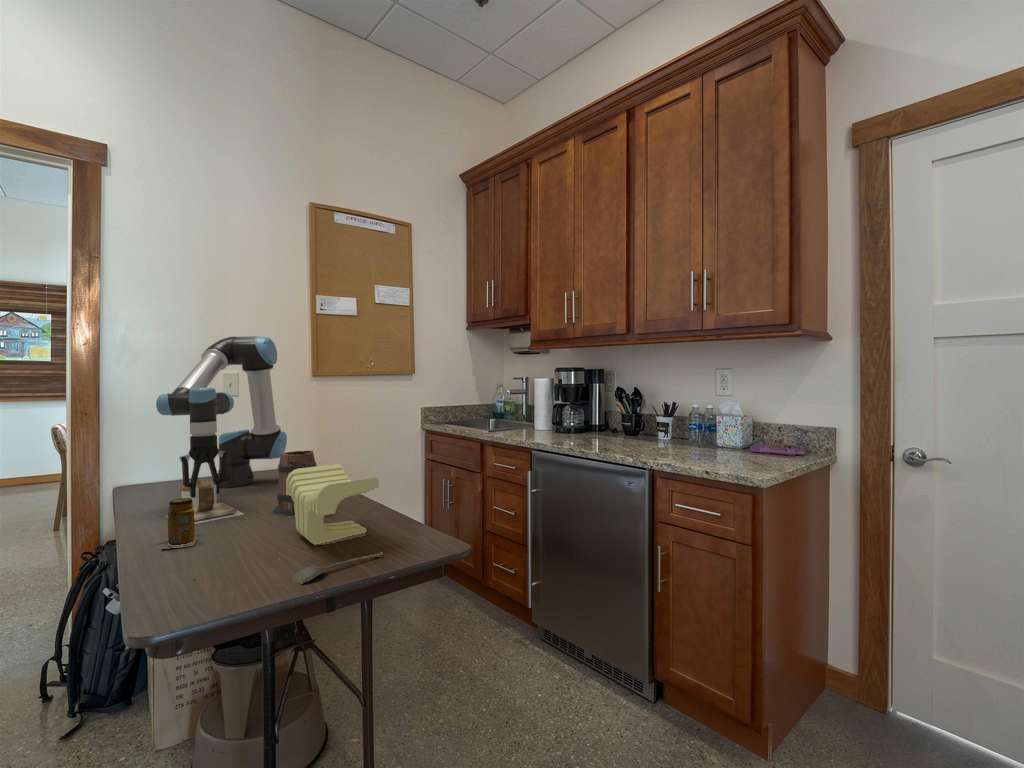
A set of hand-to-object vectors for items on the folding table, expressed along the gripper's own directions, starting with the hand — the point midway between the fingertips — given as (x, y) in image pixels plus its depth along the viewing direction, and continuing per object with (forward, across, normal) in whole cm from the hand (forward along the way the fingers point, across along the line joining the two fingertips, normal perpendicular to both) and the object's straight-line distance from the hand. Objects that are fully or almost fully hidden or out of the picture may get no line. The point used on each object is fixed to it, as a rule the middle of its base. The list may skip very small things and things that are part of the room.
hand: (205, 505), depth 160 cm
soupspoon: (+4, -6, +77) cm, 77 cm away
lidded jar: (+4, -3, -18) cm, 18 cm away
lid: (+3, 0, 0) cm, 3 cm away
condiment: (+4, +13, +26) cm, 30 cm away
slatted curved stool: (+4, -17, +52) cm, 55 cm away
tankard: (+4, -23, +20) cm, 31 cm away
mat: (+4, 0, 0) cm, 4 cm away
